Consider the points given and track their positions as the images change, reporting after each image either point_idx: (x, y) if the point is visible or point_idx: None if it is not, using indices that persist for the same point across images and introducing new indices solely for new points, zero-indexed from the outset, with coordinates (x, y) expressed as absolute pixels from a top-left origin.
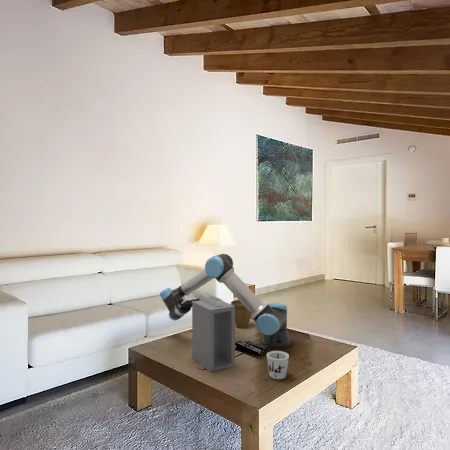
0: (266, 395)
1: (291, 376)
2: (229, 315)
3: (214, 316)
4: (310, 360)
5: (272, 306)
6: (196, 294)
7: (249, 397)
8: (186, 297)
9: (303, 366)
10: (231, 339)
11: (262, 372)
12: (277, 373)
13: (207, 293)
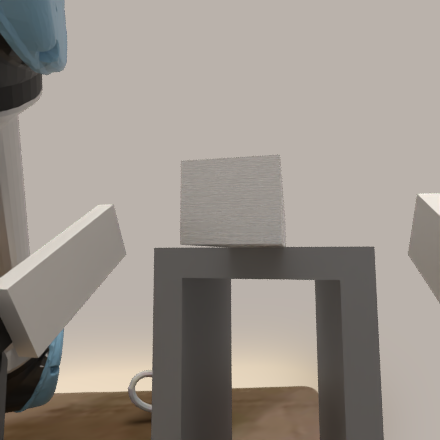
0: (270, 394)
1: None
2: (227, 290)
3: (191, 376)
4: (38, 413)
5: None
6: (282, 204)
7: (306, 402)
8: (417, 225)
9: (89, 409)
10: (231, 386)
11: None
12: None
13: (113, 220)
